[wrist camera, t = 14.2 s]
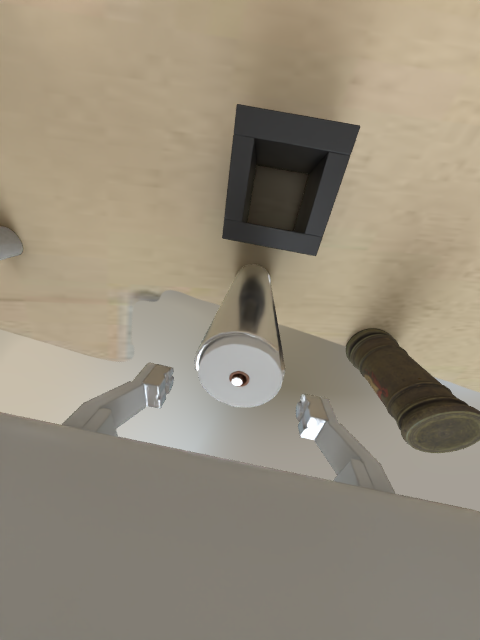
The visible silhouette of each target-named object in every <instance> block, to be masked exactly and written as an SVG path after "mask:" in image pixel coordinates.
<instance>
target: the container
mask: <svg viewBox="0 0 480 640" xmlns="http://www.w3.org/2000/svg"><path fill="white" fill-rule="evenodd" d="M346 354H347V358H348V359H349V361H350V362H351V363H352V364H353V365H354V366H355V367H356V368H357V369H359V370H360V372H361V374H362V375H363V376H364V377H365V378H366V380H367V381H368V382H369V384H370V385H371V386H372V388H373V389H374V391H375V392H376V394H377V395H378V397H379V398H380V399H381V401H382V402H383V404H384V405H385V407H386V408H387V410H388V413H389V414H390V415H391V416H392V417H393V418H394V419H395V420H396V421H397V424H398V427H399V429H400V430H401V435H402V437H403V439H404V440H405V441H406V442H407V443H408V444H409V445H410V446H412V447H413V448H415V449H417V450H420V451H423V452H430V453H445V452H451V451H457V450H460V449H464V448H466V447H469V446H471V445H473V444H475V443H476V442H478V441H479V440H480V411H478V410H477V409H475V408H473V407H471V406H468V404H466V403H465V402H464V401H461V400H460V399H458V398H456V397H455V396H454V395H453V394H452V392H451V391H450V389H448V388H447V387H445V386H444V385H442V384H441V383H440V382H438V381H437V380H436V379H435V378H434V377H433V376H431V375H430V374H429V373H428V372H427V371H426V370H425V369H423V368H422V367H421V366H420V365H419V364H418V363H417V362H415V361H414V360H413V359H412V358H411V357H410V356H409V355H408V353H407V352H406V351H405V350H404V349H402V348H401V347H399V345H398V343H397V341H396V340H395V339H393V337H392V336H391V335H390V334H388V333H387V332H385V331H382V330H379V329H366V330H363V331H361V332H359V333H357V334H356V335H354V336H353V337H352V338H351V339H350V340H349V342H348V344H347V346H346Z"/></svg>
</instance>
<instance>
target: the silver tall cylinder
mask: <svg viewBox="0 0 480 640" xmlns="http://www.w3.org/2000/svg"><path fill="white" fill-rule="evenodd" d="M194 364H195V370H198V375H199V380H200V382H201V384H202V387H203V388H204V389H205V390H206V391H207V392H208V393H209V394H210V395H211V396H212V397H214V398H215V399H216V400H219V401H220V402H223V403H225V404H227V405H230V406H233V407H254V406H258V405H262V404H264V403H266V402H268V401H270V400H271V399H272V398H273V397H274V396H275V395H276V394H277V393H278V391H279V389H280V388H281V384H282V381H283V379H284V374H285V364H284V358H283V352H282V346H281V340H280V335H279V329H278V323H277V317H276V311H275V305H274V299H273V293H272V287H271V281H270V276H269V274H268V272H267V270H266V269H265V268H264V267H262V266H260V265H257V264H249V265H246V266H244V267H242V268H241V269H240V270H239V272H238V273H237V275H236V277H235V279H234V281H233V283H232V285H231V286H230V288H229V290H228V292H227V294H226V296H225V298H224V300H223V302H222V304H221V306H220V308H219V310H218V311H217V313H216V315H215V317H214V319H213V321H212V323H211V325H210V327H209V329H208V331H207V332H206V334H205V336H204V338H203V340H202V342H201V344H200V346H199V348H198V350H197V352H196V356H195V360H194Z"/></svg>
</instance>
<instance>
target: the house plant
mask: <svg viewBox="0 0 480 640" xmlns="http://www.w3.org/2000/svg"><path fill="white" fill-rule="evenodd" d="M22 251H23V247H22V243H21V241H20V239H19V237H18V236H17V235H16V234H15V233H14V232H13V231H12V230H10V229H8V228H6V227H2V226H0V260H3V259H6V258H10V257H13V256H17V255H20V254H21V253H22Z"/></svg>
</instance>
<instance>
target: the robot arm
mask: <svg viewBox="0 0 480 640" xmlns="http://www.w3.org/2000/svg"><path fill="white" fill-rule="evenodd" d="M173 372H174V370H173V368H172V367H168V366H163V365H159V364H154V363H148V364H147V365H146V366H145V367H144V368H143V369H142V370H141V372H140V373H139V374H138V375H137V376H136V378H135V379H134V380H133V381H132V382H131V381H129V382H127V383H125V384H123V385H121V386H118V387H116V388H114V389H112V390H110V391H108V392H106V393H104V394H102V395H100V396H97V397H95V398H93V399H91V400H89V401H87V402H85V403H83V404H82V405H81V406H80V407H79V408H78V409H77V410H76V411H75V412H74V413H73V414H72V415H71V416H70V417H69V418H68V419H67V420H66V421H65V422H64V423H63V424H62V425H59V424H55V423H50V422H45V421H40V420H36V419H30V418H25V417H21V416H16V415H11V414H7V413H2V412H0V640H480V512H479V511H475V510H472V509H467V508H462V507H457V506H453V505H448V504H442V503H438V502H433V501H428V500H423V499H418V498H413V497H409V496H404V495H399V494H395V492H394V490H393V488H392V486H391V484H390V482H389V480H388V478H387V476H386V474H385V472H384V470H383V468H382V466H381V464H380V463H379V462H378V461H377V460H376V459H375V458H374V457H373V456H372V455H371V454H370V453H369V452H368V451H367V450H366V449H365V448H364V447H363V446H362V445H361V444H360V443H359V441H358V440H356V439H355V437H354V436H353V435H352V434H351V433H349V431H348V430H347V429H346V428H345V427H344V426H343V425H342V424H339V423H338V420H337V418H336V415H335V413H334V411H333V408H332V406H331V403H330V401H329V399H328V398H324V397H318V396H314V395H308V394H302V395H301V397H300V399H301V401H300V402H298V404H297V406H296V418H297V419H298V421H299V422H300V423H299V425H298V428H299V433H300V437H303V438H307V439H312V440H315V442H316V444H317V446H318V447H319V449H320V450H321V452H322V453H323V454H324V456H325V458H326V459H327V461H328V462H329V464H330V465H331V467H332V468H333V469H334V471H335V473H336V474H337V476H336V477H335V479H334V480H333V481H331V480H326V479H321V478H317V477H312V476H307V475H301V474H297V473H292V472H287V471H282V470H278V469H273V468H268V467H263V466H258V465H253V464H249V463H244V462H239V461H234V460H229V459H224V458H219V457H215V456H210V455H205V454H200V453H195V452H190V451H185V450H181V449H176V448H170V447H166V446H161V445H156V444H152V443H147V442H142V441H137V440H132V439H127V438H122V437H118V435H117V432H116V428H118V427H119V426H120V425H122V424H123V423H125V422H126V421H127V420H129V419H130V418H132V417H133V416H134V415H136V414H137V413H138V412H140V411H141V410H143V409H144V408H145V407H146V406H150V407H155V408H161V407H162V405H163V403H164V401H165V400H166V394H168V393H169V392H170V390H171V388H172V386H173V380H174V377H173V376H172V374H173Z"/></svg>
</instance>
